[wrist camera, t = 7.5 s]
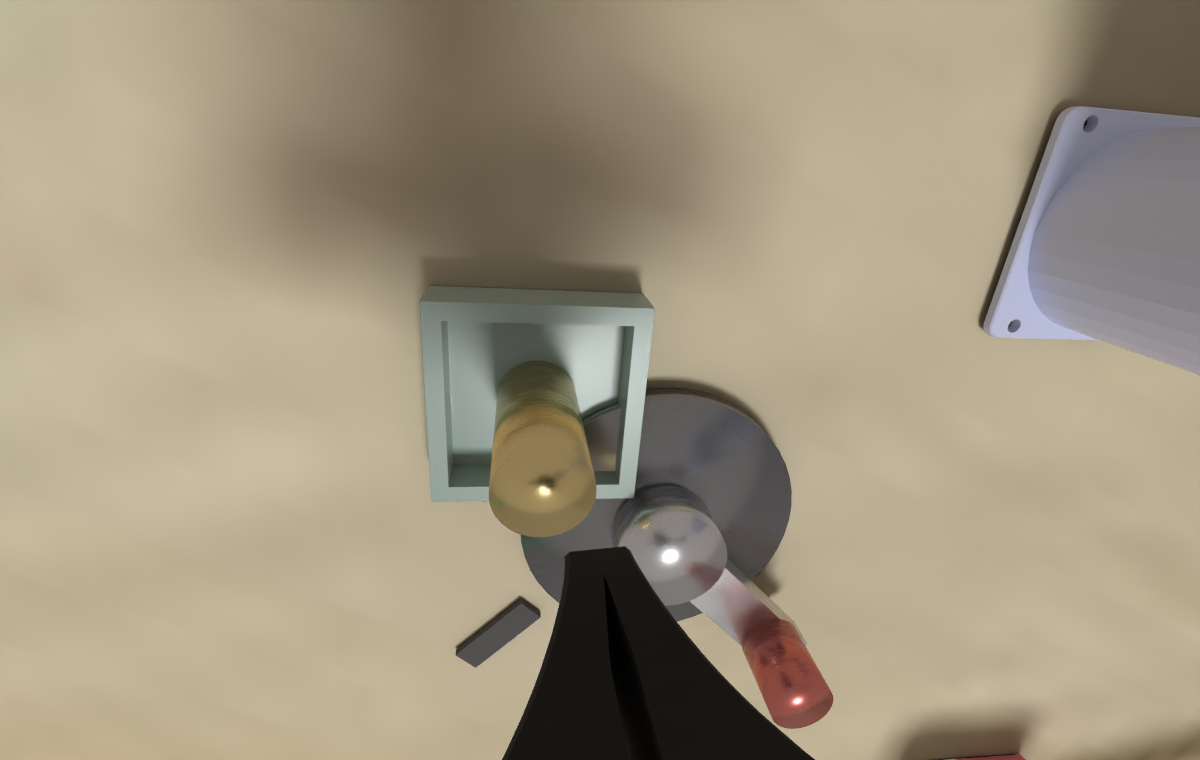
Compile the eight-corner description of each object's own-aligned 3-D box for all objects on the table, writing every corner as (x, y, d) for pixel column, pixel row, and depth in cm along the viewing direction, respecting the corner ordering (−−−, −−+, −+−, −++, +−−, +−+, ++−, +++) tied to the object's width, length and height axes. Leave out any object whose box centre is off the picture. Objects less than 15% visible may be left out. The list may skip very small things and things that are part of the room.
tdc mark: (521, 598, 24) (521, 603, 24) (540, 612, 25) (540, 617, 24) (456, 649, 25) (455, 654, 25) (476, 661, 25) (475, 667, 25)
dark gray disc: (805, 389, 22) (818, 400, 21) (755, 602, 26) (764, 619, 25) (522, 386, 20) (522, 398, 19) (518, 614, 24) (518, 632, 24)
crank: (590, 530, 22) (605, 618, 18) (669, 467, 21) (704, 543, 17) (740, 656, 26) (780, 751, 22) (811, 607, 25) (865, 695, 21)
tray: (643, 293, 19) (654, 308, 18) (624, 469, 22) (633, 497, 20) (429, 285, 18) (419, 301, 17) (438, 472, 21) (431, 502, 19)
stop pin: (586, 372, 20) (611, 461, 14) (561, 439, 21) (576, 546, 15) (509, 350, 19) (506, 435, 14) (487, 420, 20) (476, 525, 15)
